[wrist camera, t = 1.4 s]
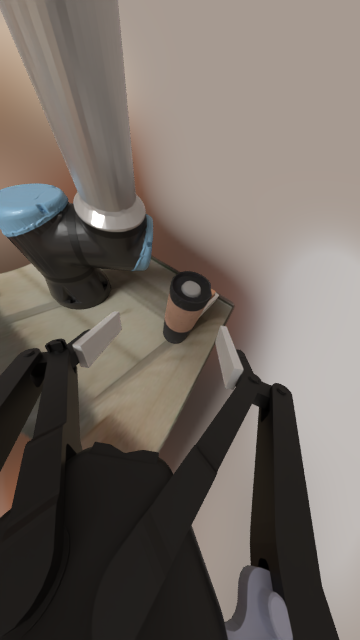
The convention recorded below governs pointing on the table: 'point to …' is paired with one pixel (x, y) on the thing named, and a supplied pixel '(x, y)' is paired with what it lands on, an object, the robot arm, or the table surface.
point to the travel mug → (185, 304)
